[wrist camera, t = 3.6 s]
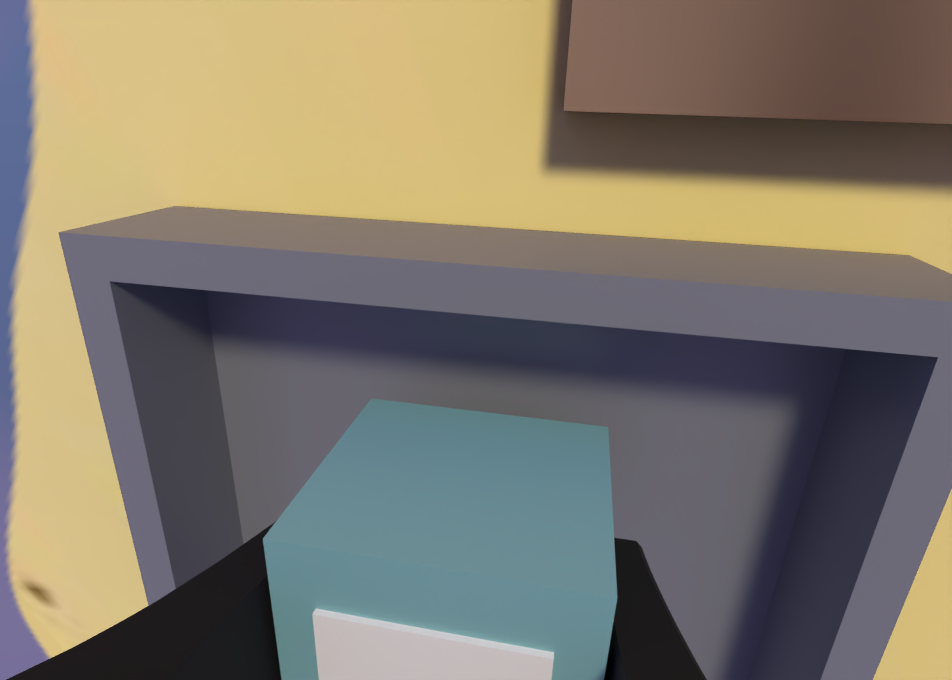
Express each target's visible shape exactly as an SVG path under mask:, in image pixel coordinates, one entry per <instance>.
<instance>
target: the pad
mask: <svg viewBox="0 0 952 680" xmlns="http://www.w3.org/2000/svg"><path fill="white" fill-rule="evenodd" d="M563 111H580V112H609V113H638V114H667V115H696V116H725V117H754V118H784V119H813V120H842V121H871V122H900V123H929V124H952V0H572V12H571V24H570V36H569V48H568V60H567V72H566V84H565V97H564V109H563Z"/></svg>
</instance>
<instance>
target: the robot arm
mask: <svg viewBox="0 0 952 680" xmlns="http://www.w3.org/2000/svg"><path fill="white" fill-rule="evenodd" d="M275 522H276V521H275ZM275 522H274V523H273V524H271V525H270V526H268V527H267V528H266V529H264V530H263V531H261V532H260V533H259V534H257V535H256V536H254V537H253V538H251V539H250V540H249V541H247V542H246V543H244V544H243V545H241V546H240V547H239V548H237V549H236V550H234V551H233V552H231V553H230V554H229V555H227V556H226V557H224V558H223V559H221V560H220V561H218V562H217V563H215V564H214V565H212V566H211V567H209V568H208V569H206V570H204V571H203V572H201V573H200V574H198V575H197V576H195V577H194V578H192V579H190V580H189V581H187V582H186V583H184V584H183V585H181V586H179V587H178V588H176V589H175V590H173V591H172V592H170V593H169V594H167V595H165V596H164V597H162V598H161V599H159V600H158V601H156V602H154V603H152V604H151V605H149V606H147V607H146V608H144V609H142V610H141V611H139V612H137V613H135V614H134V615H132V616H130V617H129V618H127V619H125V620H123V621H121V622H120V623H118V624H116V625H114V626H112V627H110V628H109V629H107V630H105V631H103V632H101V633H99V634H98V635H96V636H94V637H92V638H90V639H88V640H87V641H85V642H83V643H81V644H79V645H77V646H75V647H73V648H71V649H69V650H67V651H65V652H63V653H61V654H59V655H57V656H55V657H53V658H50V659H48V660H46V661H44V662H42V663H40V664H38V665H36V666H34V667H32V668H30V669H28V670H26V671H24V672H21V673H19V674H17V675H15V676H13V677H11V678H9V679H7V680H282V679H281V672H280V664H279V657H278V649H277V642H276V634H275V627H274V619H273V612H272V604H271V597H270V590H269V582H268V575H267V567H266V560H265V552H264V545H263V538H264V537H265V535H266V534H267V533H268V531H269V530H270V529H271V527H272V526H273V525H274V524H275ZM614 544H615V563H616V581H617V603H616V609H615V615H614V622H613V628H612V634H611V640H610V646H609V652H608V658H607V664H606V670H605V676H604V680H707V679H706V677H705V675H704V674H703V672H702V670H701V669H700V667H699V665H698V663H697V662H696V660H695V658H694V656H693V654H692V652H691V650H690V649H689V647H688V645H687V643H686V641H685V639H684V637H683V636H682V634H681V632H680V630H679V628H678V626H677V624H676V623H675V621H674V619H673V617H672V615H671V613H670V611H669V609H668V607H667V604H666V602H665V600H664V598H663V596H662V594H661V592H660V590H659V588H658V585H657V583H656V581H655V579H654V577H653V574H652V572H651V570H650V567H649V565H648V562H647V560H646V557H645V555H644V552H643V549H642V547H641V546H640V545H639V543H638V542H637V541H634V540H627V539H620V538H614Z"/></svg>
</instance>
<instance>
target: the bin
mask: <svg viewBox="0 0 952 680" xmlns="http://www.w3.org/2000/svg"><path fill="white" fill-rule="evenodd" d="M59 236H60V241H61V245H62V249H63V253H64V257H65V261H66V265H67V270H68V274H69V278H70V282H71V286H72V290H73V294H74V299H75V303H76V307H77V311H78V315H79V319H80V323H81V327H82V332H83V336H84V340H85V344H86V348H87V352H88V356H89V361H90V365H91V369H92V373H93V377H94V381H95V385H96V390H97V394H98V398H99V402H100V406H101V410H102V414H103V419H104V423H105V427H106V431H107V435H108V439H109V443H110V448H111V452H112V456H113V460H114V464H115V468H116V472H117V477H118V481H119V485H120V489H121V493H122V497H123V501H124V506H125V510H126V514H127V518H128V522H129V526H130V530H131V534H132V539H133V543H134V547H135V551H136V555H137V559H138V563H139V568H140V572H141V576H142V580H143V584H144V588H145V592H146V597H147V601H148V605H151V604H152V603H154V602H156V601H158V600H159V599H161V598H162V597H164V596H165V595H167V594H169V593H170V592H172V591H173V590H175V589H176V588H178V587H179V586H181V585H183V584H184V583H186V582H187V581H189V580H190V579H192V578H194V577H195V576H197V575H198V574H200V573H201V572H203V571H204V570H206V569H208V568H209V567H211V566H212V565H214V564H215V563H217V562H218V561H220V560H221V559H223V558H224V557H226V556H227V555H229V554H230V553H231V552H233V551H234V550H236V549H237V548H239V547H240V546H241V545H243V544H244V543H246V542H247V541H249V540H250V539H251V538H253V537H254V536H256V535H257V534H259V533H260V532H261V531H263V530H264V529H266V528H267V527H268V526H270V525H271V524H273V523H274V522H275V521H277V520H278V518H279V517H280V516H281V515H282V513H283V512H284V511H285V509H286V508H287V507H288V505H289V504H290V503H291V502H292V500H293V499H294V498H295V496H296V495H297V494H298V493H299V491H300V490H301V489H302V487H303V486H304V485H305V483H306V482H307V481H308V480H309V478H310V477H311V476H312V474H313V473H314V472H315V471H316V469H317V468H318V467H319V465H320V464H321V463H322V461H323V460H324V459H325V458H326V456H327V455H328V454H329V452H330V451H331V450H332V449H333V447H334V446H335V445H336V443H337V442H338V441H339V439H340V438H341V437H342V436H343V434H344V433H345V432H346V430H347V429H348V428H349V427H350V425H351V424H352V423H353V421H354V420H355V419H356V418H357V416H358V415H359V414H360V412H361V411H362V410H363V408H364V407H365V406H366V405H367V403H368V402H369V401H370V399H380V400H388V401H396V402H405V403H413V404H421V405H430V406H438V407H446V408H455V409H463V410H471V411H480V412H488V413H496V414H504V415H513V416H521V417H529V418H538V419H546V420H554V421H563V422H571V423H579V424H588V425H596V426H604V427H608V431H609V450H610V469H611V487H612V506H613V525H614V538H620V539H627V540H634V541H637V542H638V543H639V545H640V546H641V547H642V549H643V552H644V555H645V557H646V560H647V562H648V565H649V567H650V570H651V572H652V574H653V577H654V579H655V581H656V583H657V585H658V588H659V590H660V592H661V594H662V596H663V598H664V600H665V602H666V604H667V607H668V609H669V611H670V613H671V615H672V617H673V619H674V621H675V623H676V624H677V626H678V628H679V630H680V632H681V634H682V636H683V637H684V639H685V641H686V643H687V645H688V647H689V649H690V650H691V652H692V654H693V656H694V658H695V660H696V662H697V663H698V665H699V667H700V669H701V670H702V672H703V674H704V675H705V677H706V679H707V680H873V677H874V675H875V673H876V670H877V668H878V665H879V663H880V660H881V658H882V656H883V653H884V651H885V648H886V646H887V643H888V641H889V639H890V636H891V634H892V631H893V629H894V627H895V624H896V622H897V619H898V617H899V614H900V612H901V610H902V607H903V605H904V602H905V600H906V597H907V595H908V593H909V590H910V588H911V585H912V583H913V581H914V578H915V576H916V573H917V571H918V568H919V566H920V564H921V561H922V559H923V556H924V554H925V551H926V549H927V547H928V544H929V542H930V539H931V537H932V535H933V532H934V530H935V527H936V525H937V522H938V520H939V518H940V515H941V513H942V510H943V508H944V505H945V503H946V501H947V498H948V496H949V493H950V491H951V489H952V274H950V273H948V272H945V271H943V270H941V269H939V268H936V267H934V266H932V265H930V264H927V263H925V262H923V261H921V260H918V259H916V258H914V257H912V256H909V255H895V254H880V253H865V252H850V251H835V250H821V249H806V248H791V247H776V246H761V245H746V244H731V243H716V242H701V241H686V240H672V239H657V238H642V237H627V236H612V235H597V234H582V233H567V232H552V231H537V230H523V229H508V228H493V227H478V226H463V225H448V224H433V223H418V222H403V221H388V220H374V219H359V218H344V217H329V216H314V215H299V214H284V213H269V212H254V211H239V210H225V209H210V208H195V207H180V206H173V207H169V208H164V209H160V210H155V211H151V212H147V213H142V214H138V215H133V216H129V217H124V218H120V219H116V220H111V221H107V222H102V223H98V224H93V225H89V226H85V227H80V228H76V229H71V230H67V231H63V232H59Z"/></svg>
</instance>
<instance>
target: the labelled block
mask: <svg viewBox="0 0 952 680" xmlns="http://www.w3.org/2000/svg"><path fill="white" fill-rule="evenodd" d="M263 545H264V552H265V560H266V567H267V575H268V582H269V590H270V597H271V604H272V612H273V619H274V627H275V634H276V642H277V649H278V657H279V664H280V672H281V679H282V680H604V676H605V670H606V664H607V658H608V652H609V646H610V640H611V634H612V628H613V622H614V615H615V609H616V603H617V581H616V563H615V544H614V525H613V506H612V487H611V469H610V450H609V431H608V427H604V426H596V425H588V424H579V423H571V422H563V421H554V420H546V419H538V418H529V417H521V416H513V415H504V414H496V413H488V412H480V411H471V410H463V409H455V408H446V407H438V406H430V405H421V404H413V403H405V402H396V401H388V400H380V399H370V401H369V402H368V403H367V405H366V406H365V407H364V408H363V410H362V411H361V412H360V414H359V415H358V416H357V418H356V419H355V420H354V421H353V423H352V424H351V425H350V427H349V428H348V429H347V430H346V432H345V433H344V434H343V436H342V437H341V438H340V439H339V441H338V442H337V443H336V445H335V446H334V447H333V449H332V450H331V451H330V452H329V454H328V455H327V456H326V458H325V459H324V460H323V461H322V463H321V464H320V465H319V467H318V468H317V469H316V471H315V472H314V473H313V474H312V476H311V477H310V478H309V480H308V481H307V482H306V483H305V485H304V486H303V487H302V489H301V490H300V491H299V493H298V494H297V495H296V496H295V498H294V499H293V500H292V502H291V503H290V504H289V505H288V507H287V508H286V509H285V511H284V512H283V513H282V515H281V516H280V517H279V518H278V520H277V521H276V522H275V524H274V525H273V526H272V527H271V529H270V530H269V531H268V533H267V534H266V535H265V537H264V538H263Z"/></svg>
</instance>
